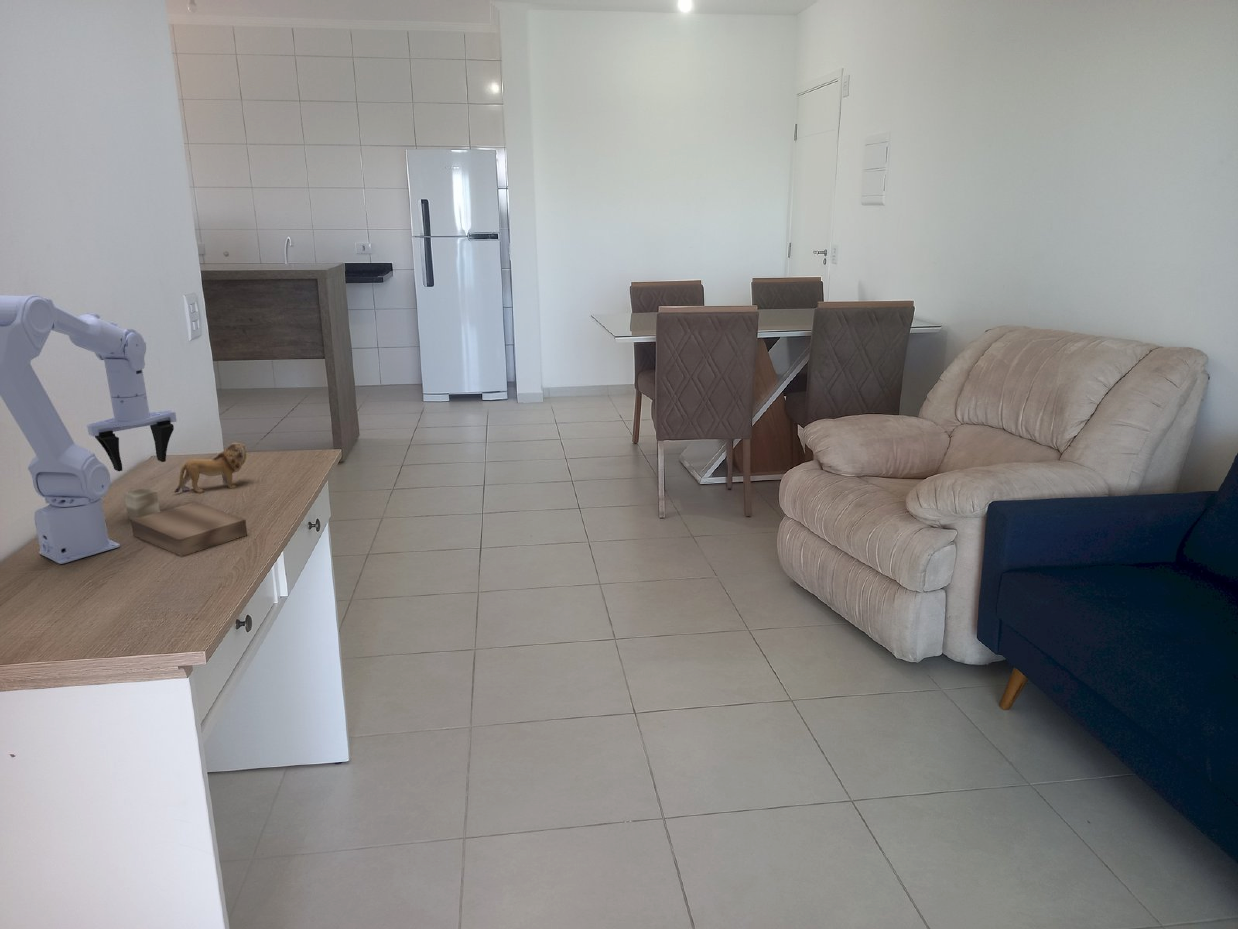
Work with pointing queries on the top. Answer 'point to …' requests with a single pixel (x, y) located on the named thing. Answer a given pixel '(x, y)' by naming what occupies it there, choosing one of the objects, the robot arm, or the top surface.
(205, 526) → the walnut plinth
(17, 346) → the robot arm
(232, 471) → the lion figurine
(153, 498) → the birch block
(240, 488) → the top surface
